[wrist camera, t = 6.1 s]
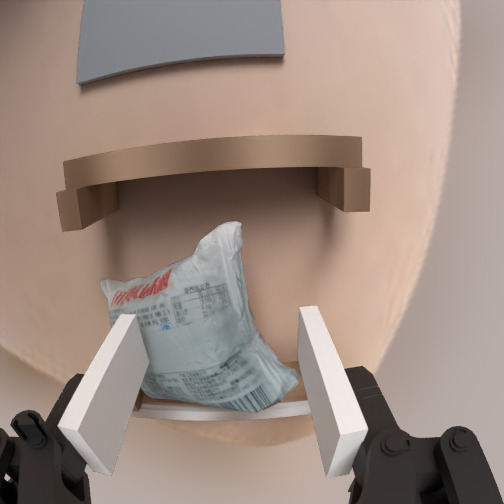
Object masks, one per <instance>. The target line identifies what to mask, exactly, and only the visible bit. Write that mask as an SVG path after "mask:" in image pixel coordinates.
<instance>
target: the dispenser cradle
mask: <svg viewBox="0 0 504 504" xmlns="http://www.w3.org/2000/svg"><path fill="white" fill-rule="evenodd" d="M63 166H64V176H65V185H66V190H64V191H60V192H57V193H56V196H57V203H58V209H59V216H60V222H61V227H62V232H64V231H73V230H82V229H84V228H86V227H88V226H89V225H91V224H93V223H95V222H96V221H98V220H100V219H102V218H104V217H105V216H107V215H109V214H111V213H113V212H115V211H117V210H118V209H119V205H118V197H117V189H116V181H123V180H130V179H138V178H146V177H154V176H163V175H172V174H182V173H193V172H204V171H217V170H232V169H250V168H275V167H317V196H318V197H320V198H322V199H323V200H325V201H327V202H328V203H330V204H332V205H333V206H335V207H337V208H338V209H340V210H341V211H343V212H369V211H370V169H369V168H363V167H362V137H353V136H330V135H267V136H242V137H226V138H212V139H201V140H190V141H181V142H172V143H164V144H157V145H149V146H142V147H136V148H130V149H124V150H118V151H112V152H107V153H102V154H96V155H91V156H87V157H82V158H77V159H73V160H69V161H64V162H63ZM282 364H283V365H284V366H286V367H288V368H291V369H295V370H296V372H297V374H298V375H299V376H300V377H299V379H298V380H299V383H298V384H297V385H296V386H295V388H294V389H293V391H289V392H288V393H287V394H286V395H285V396H284V398H283V400H282V401H280V402H278V403H277V404H276V405H273V406H271V407H269V408H267V409H265V410H262V411H259V412H257V413H250V412H244V411H236V410H231V409H226V408H221V407H217V408H216V407H213V406H209V405H203V404H199V403H190V402H185V401H181V400H169V399H157V398H151V397H149V396H148V395H146V394H145V393H144V392H143V390H142V388H141V387H140V390H139V393H138V395H137V398H136V401H135V404H134V407H133V410H132V413H131V417H141V418H153V419H168V420H193V421H227V420H252V419H267V418H279V417H289V416H298V415H307V414H311V411H310V407H309V402H308V398H307V394H306V390H305V386H304V382H303V378H302V374H301V370H300V366H299V362H290V363H282Z"/></svg>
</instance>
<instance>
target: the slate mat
mask: <svg viewBox="0 0 504 504" xmlns="http://www.w3.org/2000/svg"><path fill="white" fill-rule="evenodd" d="M283 56H284V41H283V29H282V18H281V8H280V0H84V6H83V13H82V20H81V27H80V36H79V47H78V60H77V81H76V84H79V85H83V84H86V83H89V82H93V81H96V80H100V79H104V78H108V77H112V76H116V75H120V74H124V73H128V72H133V71H138V70H143V69H148V68H153V67H159V66H165V65H171V64H178V63H185V62H193V61H203V60H213V59H226V58H244V57H283Z"/></svg>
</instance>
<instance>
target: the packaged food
mask: <svg viewBox="0 0 504 504" xmlns="http://www.w3.org/2000/svg"><path fill="white" fill-rule="evenodd" d="M241 226H242V225H241V223H240V222H237V221H233V222H225V223H224V224H222V225H218V226H217V227H216V228H215V229H214V230H213V231H212V232H210V233H209V234H208V235H206V236H205V237H204V238H203V239H202V240H200V241H199V243H198V245H197V247H196V250H195V251H194V253H193V255H191V256H189V257H188V258H185V259H183V260H180V261H178V262H176V263H173V264H171V265H168V267H164V268H162V269H160V270H158V271H157V272H156V273H154V274H152V275H151V276H149V277H137V278H135V279H132V280H129V281H127V282H126V281H122V282H121V281H115V280H109V279H106V280H103V281H101V282H100V286H101V288H102V290H103V292H104V294H105V295H106V297H107V299H108V304H109V305H108V306H109V316H110V323H111V329H112V327H113V326H114V324H115V323H116V321H117V319H118V318H119V316H120V315H121V314H136V317H137V321H138V325H139V328H140V332H141V335H142V339H143V342H144V346H145V349H146V352H147V356H148V359H149V364H148V367H147V370H146V373H145V375H144V378H143V381H142V384H141V388H142V390H143V392H144V393H145V394H146V395H148V396H149V397H151V398H157V399H169V400H181V401H185V402H190V403H199V404H203V405H209V406H213V407H216V408H217V407H221V408H226V409H231V410H236V411H244V412H250V413H257V412H259V411H262V410H265V409H267V408H269V407H271V406H273V405H276V404H277V403H278V402H280V401H282V400H283V398H284V396H285V395H286V394H287V393H288V392H289V391H293V389H294V388H295V386H296V385H297V384H298V383H299V380H298V379H299V377H300V376H299V375H298V374H297V372H296V370H295V369H291V368H288V367H286V366H284V365H283V364H282V363H281V362H280V361H279V360H278V359H277V358H278V356H277V355H276V354H274V352H273V351H272V349H271V348H270V347H269V345H268V344H267V343H266V341H265V340H264V338H263V337H262V335H261V334H260V332H259V331H258V329H257V327H256V325H255V323H254V318H253V315H252V312H251V310H250V307H249V301H248V295H247V289H246V284H245V278H244V271H243V265H242V259H241V253H240V252H241V248H242V245H243V243H244V242H243V241H242V239H241V236H242V233H243V232H242V230H241Z"/></svg>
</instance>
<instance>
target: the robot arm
mask: <svg viewBox="0 0 504 504" xmlns="http://www.w3.org/2000/svg"><path fill="white" fill-rule="evenodd" d="M297 358H298V362H299V366H300V370H301V374H302V378H303V382H304V386H305V390H306V394H307V398H308V402H309V407H310V411H311V415H312V419H313V423H314V428H315V432H316V436H317V440H318V445H319V449H320V453H321V458H322V461H323V466H324V471H325V475H326V478H332V477H337V476H342V475H347V474H349V473H350V471H351V469H352V467H353V471H354V474H355V478H354V480H353V482H352V484H351V486H350V488H349V490H348V492H351V494H350V500H349V504H504V503H503V501H502V498H501V495H500V492H499V490H498V487H497V484H496V482H495V479H494V477H493V474H492V472H491V469H490V467H489V464H488V462H487V460H486V457H485V455H484V453H483V450H482V448H481V446H480V444H479V442H478V440H477V437H476V436H475V434H474V433H473V432H472V431H471V430H469V429H468V428H466V427H462V426H456V427H451V428H449V429H447V430H446V431H445V432H444V434H443V435H442V436H441V437H435V438H415V437H412V436H410V435H409V434H408V433H406V432H405V431H403V430H401V429H400V428H399V427H398V425H397V423H396V421H395V419H394V417H393V415H392V413H391V411H390V409H389V407H388V404H387V403H386V401H385V398H384V396H383V395H382V392H381V390H380V388H379V387H378V384H377V382H376V380H375V378H374V376H373V374H372V373H370V372H369V371H368V370H367V369H366V368H364V367H363V366H359V367H353V368H347V369H344V368H343V365H342V363H341V361H340V358H339V356H338V353H337V351H336V349H335V346H334V344H333V342H332V339H331V337H330V335H329V333H328V330H327V328H326V326H325V323H324V321H323V319H322V316H321V314H320V312H319V310H318V307H317V306H308V307H299V328H298V352H297ZM148 364H149V359H148V356H147V352H146V349H145V346H144V342H143V339H142V335H141V332H140V328H139V325H138V321H137V317H136V314H121V315H120V316H119V318H118V319H117V321H116V323H115V324H114V326H113V327H112V329H111V331H110V332H109V334H108V336H107V337H106V339H105V341H104V342H103V344H102V346H101V347H100V349H99V351H98V352H97V354H96V356H95V357H94V359H93V361H92V363H91V364H90V366H89V368H88V370H87V371H86V373H85V374H76V375H75V376H74V377H73V378H71V379H70V380H69V381H68V383H67V384H66V386H65V388H64V390H63V393H61V395H60V397H59V400H57V402H56V403H55V405H54V407H53V409H52V411H51V412H50V414H49V416H48V418H47V420H46V422H45V421H44V420H43V419H42V417H41V416H40V414H39V413H37V412H35V411H32V410H26V411H22V412H21V413H19V414H17V415H16V416H15V417H14V418H13V420H12V422H11V424H10V425H11V426H12V428H13V429H14V430H15V432H16V433H17V434H18V436H19V437H9V436H8V434H7V433H6V432H5V431H4V430H3V429H2V428H0V504H91V497H90V487H89V479H88V475H87V474H86V472H85V471H84V470H85V467H86V464H88V466H89V467H90V468H91V469H92V470H93V471H94V472H98V473H102V474H107V475H111V476H112V474H113V471H114V468H115V464H116V461H117V457H118V454H119V451H120V447H121V444H122V441H123V438H124V435H125V432H126V428H127V425H128V422H129V419H130V416H131V413H132V410H133V407H134V404H135V401H136V398H137V395H138V393H139V390H140V387H141V384H142V381H143V378H144V375H145V373H146V370H147V367H148ZM5 474H7V475H8V476H10V477H11V478H10V480H9V481H6V480H5V479H4V477H5Z"/></svg>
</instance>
